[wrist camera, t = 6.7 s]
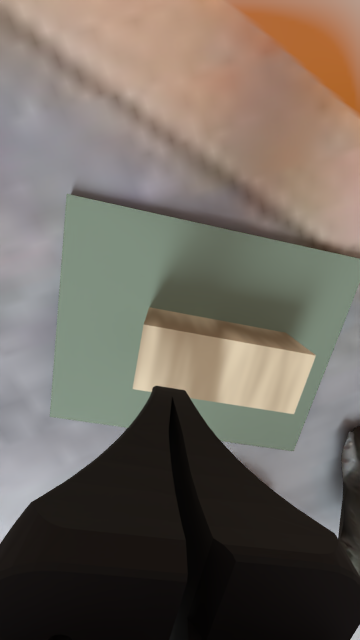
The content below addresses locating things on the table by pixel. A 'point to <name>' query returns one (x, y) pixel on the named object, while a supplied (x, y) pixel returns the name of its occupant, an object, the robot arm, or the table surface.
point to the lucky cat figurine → (351, 498)
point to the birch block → (222, 361)
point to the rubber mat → (185, 309)
